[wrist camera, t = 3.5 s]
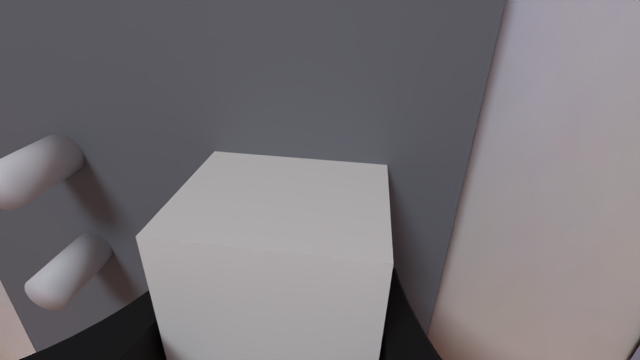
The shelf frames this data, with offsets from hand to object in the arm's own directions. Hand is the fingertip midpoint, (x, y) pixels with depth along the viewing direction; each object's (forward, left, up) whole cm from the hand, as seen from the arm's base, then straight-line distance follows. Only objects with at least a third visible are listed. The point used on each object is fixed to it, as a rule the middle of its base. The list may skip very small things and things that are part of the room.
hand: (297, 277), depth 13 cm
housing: (0, 0, 0) cm, 0 cm away
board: (+4, -1, -1) cm, 4 cm away
